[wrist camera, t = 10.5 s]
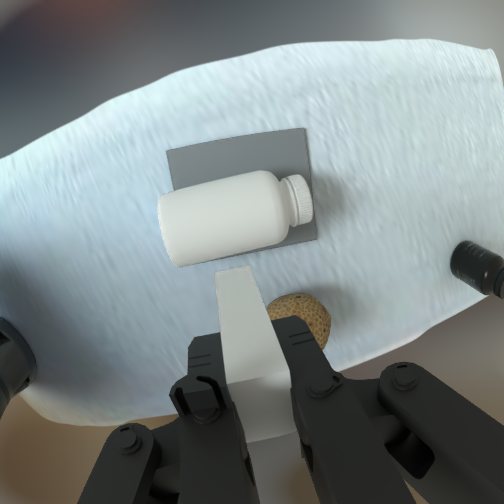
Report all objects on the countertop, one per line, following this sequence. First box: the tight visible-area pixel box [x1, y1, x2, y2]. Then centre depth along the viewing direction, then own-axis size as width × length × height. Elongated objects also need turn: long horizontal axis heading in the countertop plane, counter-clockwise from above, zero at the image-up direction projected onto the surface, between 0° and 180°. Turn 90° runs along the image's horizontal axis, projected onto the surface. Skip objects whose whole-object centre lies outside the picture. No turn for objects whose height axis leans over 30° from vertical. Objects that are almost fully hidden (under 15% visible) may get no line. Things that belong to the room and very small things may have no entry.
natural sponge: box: [266, 294, 331, 351], centre depth 36 cm, size 9×9×10 cm
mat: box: [166, 128, 317, 264], centre depth 35 cm, size 16×14×1 cm
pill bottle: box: [158, 170, 313, 267], centre depth 31 cm, size 8×8×15 cm
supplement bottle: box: [450, 241, 504, 299], centre depth 38 cm, size 7×7×12 cm
